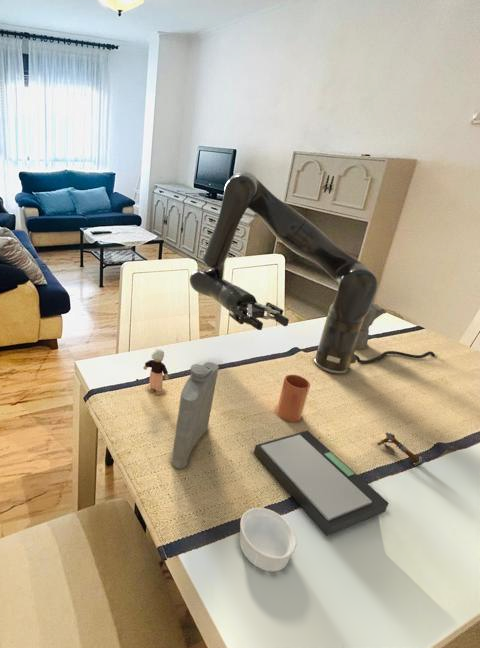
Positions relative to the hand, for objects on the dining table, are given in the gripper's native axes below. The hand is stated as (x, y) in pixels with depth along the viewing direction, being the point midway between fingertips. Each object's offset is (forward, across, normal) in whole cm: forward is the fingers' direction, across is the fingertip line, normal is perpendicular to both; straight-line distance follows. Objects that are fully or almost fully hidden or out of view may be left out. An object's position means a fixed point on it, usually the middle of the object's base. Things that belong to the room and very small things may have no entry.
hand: (274, 325), depth 100 cm
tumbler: (+11, 0, +20) cm, 23 cm away
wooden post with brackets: (+30, +14, +20) cm, 39 cm away
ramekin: (+37, -30, +20) cm, 52 cm away
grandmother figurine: (-8, -29, +20) cm, 36 cm away
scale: (+29, -10, +20) cm, 37 cm away
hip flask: (+12, -30, +20) cm, 38 cm away
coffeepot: (-13, +50, +20) cm, 55 cm away
